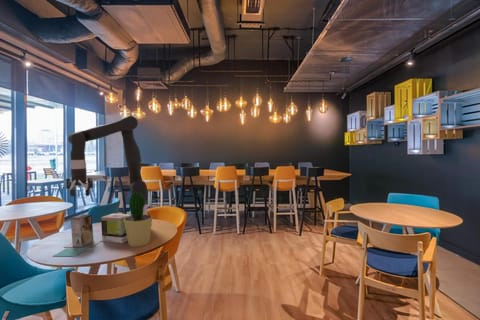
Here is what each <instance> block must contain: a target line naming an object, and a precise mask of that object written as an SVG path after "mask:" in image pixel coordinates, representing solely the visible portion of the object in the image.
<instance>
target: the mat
mask: <svg viewBox="0 0 480 320" xmlns="http://www.w3.org/2000/svg"><path fill="white" fill-rule="evenodd" d="M88 248H89V247H79V248H64V249H63V250H61V251H59V252H58V253H56V254H54V255H52V257H53V258H55V257H58V258H59V257H60V258H61V257H62V258H63V257H65V258H66V257H68V258H69V257H78V255H80V254H82V253H84V252H85V251H86V250H88Z"/></svg>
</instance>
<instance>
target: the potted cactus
mask: <svg viewBox="0 0 480 320" xmlns="http://www.w3.org/2000/svg"><path fill="white" fill-rule="evenodd" d="M135 192H136V191H135ZM128 205H129V207H128V210H130V211H129V212H130V214H132V216H129V217H126V218H124V224H125V229H126V234H127V238H128V241H127V242H128V245H129V247H133V248H134V247H135V248H137V247H143V246H147V245H148V244H150V242H151V234H152V233H151V231H152V225H153V224H152V223H153V215H151V214H148V213H147V214H143V207H144V206H145V199H144V197H143V195H141V194H140V193H139V192H137V193H134V194H133V195H130V196H129V203H128Z"/></svg>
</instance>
